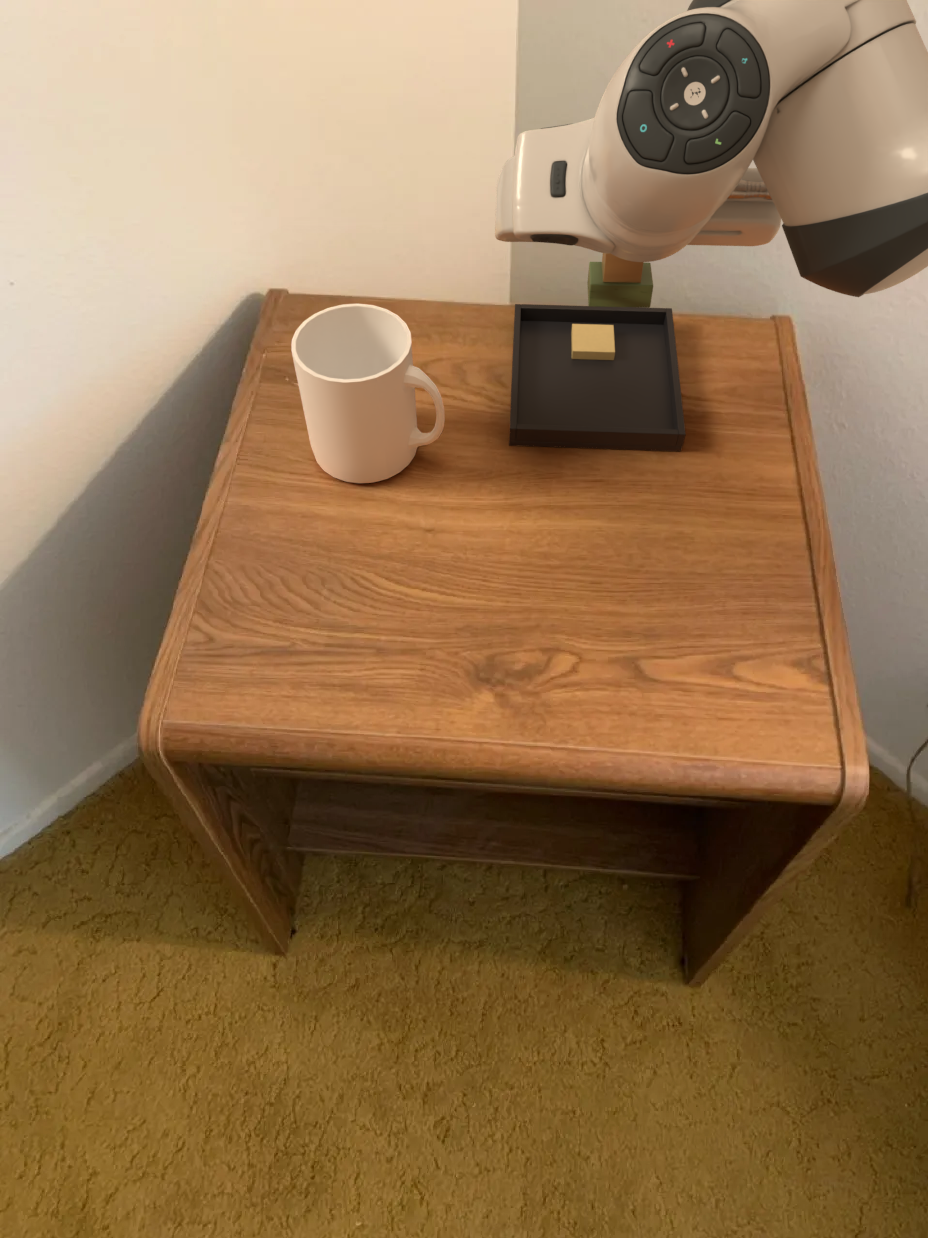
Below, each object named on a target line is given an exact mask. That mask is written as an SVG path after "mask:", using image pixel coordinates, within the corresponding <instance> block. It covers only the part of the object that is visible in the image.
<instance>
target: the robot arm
mask: <svg viewBox="0 0 928 1238" xmlns="http://www.w3.org/2000/svg"><path fill="white" fill-rule="evenodd" d="M916 24H917V20H916V18H915V15H914V14H913V12H912V9H911V7H910V5H909V1H908V0H692V1H691V3H690V4H689V5H688V8H687V9H686V11H683V12H680V13H678V14H676V15H674V16H672V17H670V18H669V19H667V20H666V21H664V22H662V23H661V24H659V25H657V26H656V27H654V28H653V29H652V30H651V31H650V32H649V33H647V34H646V35H645V36H643V38H641V40H640V41H639V42H638V43H637V44H636V45H635V46H634V47H633V48H632V49H631V51H630V52H629V53H628V54H627V55H626V56H625V58H624V59H623V60H622V62H621V64H620V65H619V66H618V67H617V69H616V70H615V72H614V73H613V75H612V76H611V78H610V80H609V82H608V83H607V86H606V87H605V89H604V92H603V94H602V97H600V98H601V99H600V101H599V103H598V106H597V108H596V111H595V114H594V115H595V116H594V117H592V118H589V119H586V120H582V121H578V122H574V123H567V124H566V123H565V124H561V125H555V126H548V127H542V128H535V129H529V130H525V131H522V132H520V133H519V134H518V135H517V137H516V143H515V150H514V155H513V156H511V157H510V158H509V159H507V160H506V161H505V162H504V164H503V166H502V167H501V170H500V172H499V174H498V179H497V182H496V189H495V190H496V191H495V210H494V211H495V213H494V218H495V219H494V237H495V239H496V240H497V241H500V242H505V243H544V244H545V243H546V244H557V245H563V246H565V245H566V246H575V247H581V248H584V249H587V250H591V251H592V252H593V251H594V252H597V253H601V254H603V253H606V254H608V253H611V254H612V255H614V256H616V257H619V258H621V259H624V260H628V261H633V262H644V263H651V262H656V261H661V260H663V259H666V258H669V257H671V256H674V255H675V254H676V253H678V252H680V251H681V250H682V249H684V248H685V247H687V246H711V247H712V246H715V247H716V246H719V247H723V246H724V247H757V246H758V247H759V246H764V245H766V244H769V243H771V242H772V241H773V240H774V238H775V237H776V236H777V234H778V233H779V230H780V228H781V227H782V230H783V232H784V233H783V234H784V235H785V238H786V241H787V243H788V246H789V249H790V251H791V254H792V257H793V260H794V263H795V265H796V268H797V271H798V273H799V276H800V277H801V278H803V279H804V280H806V281H808V282H810V283H813V284H814V285H817V286H819V287H821V288H824V289H826V290H829V291H832V292H835V293H838V294H841V295H845V296H850V297H854V298H860V297H862V296H864V295H870V294H873V293H878V292H882V291H884V290H885V291H886V290H887V289H890V288H893V287H894V286H897V285H899V284H900V283H903V282H905V281H907V280H909V279H910V278H912V277H913V276H915V275H917V274H919V273H921V272H922V271H923V270H925V269H926V268H927V267H928V49H927V47H926V45H925V43H924V40H923V38H922V36H921V34H920V32H919V29H918V27H917V25H916ZM752 162H753V163H754V165H755V167H750V166H751V164H752ZM781 224H782V225H781Z"/></svg>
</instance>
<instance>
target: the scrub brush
mask: <svg viewBox="0 0 928 1238" xmlns="http://www.w3.org/2000/svg"><path fill="white" fill-rule="evenodd" d="M587 273H588V274H587V284H586V285H587V306H593V307H642V308H651V304H652V298H653V292H654V279H653V272H652V263H651V262H633V261H628V260H624V259H621V258H619V257H616V256H614V255H612V254H611V253H608V254H606V253H602V257H601V261H589V262H588V272H587Z"/></svg>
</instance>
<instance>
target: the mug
mask: <svg viewBox="0 0 928 1238" xmlns="http://www.w3.org/2000/svg"><path fill="white" fill-rule="evenodd" d="M290 347H291V348H290V349H291V356H292V360H293V366H294V370H295V375H296V380H297V385H298V391H299V396H300V399H301V405H302V409H303V414H304V415H303V416H304V419H305V420H304V421H305V425H306V429H307V434H308V439H309V444H310V447H311V450H312V454H313V455H314V458H315V460H316V463H317V464H318V466H319V467H320V468H321V470H323V471H324V472H325V473H326V474H328V475H329V476H331V477H333V478H334V479H336V480H337V479H338V480H340V481H344V482H345V483H346V482H347V483H354V484H369V483H371V484H372V483H376V482H380V481H385V480H388V479H390V478H391V477H394V476H396V475H397V474H399V473H401V472H402V471H403V470H405V469H406V468H407V467H408V466H409V465H410V463H411V462H412V461H413V459H414V457H415V456H416V453H417V451H418V447H421V446H428V445H431V444H432V443H434V442H435V441H437V440H439V439H440V437H441V435H442V434H443V431H444V426H445V422H446V418H445V417H446V416H445V415H446V414H445V406H444V401H443V397H442V394H441V392H440V391H439V388H438V386H437V385H436V383H435V382H434V381H433V380H432V378H430V377H429V375H427V374H426V373H425V372H424V371H423V370H422V369H421V368H420V367H417V366H416V365H414V360H413V359H414V358H413V344H412V332H411V330H410V329H409V326H408V324H407V322H406V321H404V320H403V319H402V318H401V317H400V316H399V315H398V314H396V313H394V312H392V311H391V310H389V309H387V308H385V307H380V306H378V305H374V304H367V303H344V304H343V303H342V304H339V305H334V306H331V307H327V308H325V309H322V310H320V311H317V312H315V313H313V314H312V315H310V316H309V317H308V318H306V319H305V320H303V321H302V323H301V324H300V325H299V326H298V327H297V328H296V329H295V332H294V334H293V336H292V338H291V346H290ZM417 388H418V389H423V390H425V392H426V393H428V395H429V396H430V398H431V400H432V401H433V404H434V408H435V413H436V414H435V416H436V418H435V424H434V427H433V428H432V430H431V431H428V432H422V431H421V430H420V429H419V428H418V417H417V399H416V389H417Z"/></svg>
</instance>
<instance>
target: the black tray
mask: <svg viewBox="0 0 928 1238" xmlns="http://www.w3.org/2000/svg"><path fill="white" fill-rule="evenodd" d="M513 320H514V321H513V338H512V339H513V341H512V342H513V343H512V362H511V364H512V365H511V387H510V389H511V390H510V409H509V410H510V411H509V432H508V433H509V435H508V446H511V447H534V448H535V447H538V448H569V449H594V450H595V449H596V450H598V449H599V450H624V451H625V450H627V451H654V452H656V451H657V452H682V450H683V446H684V442H685V438H686V435H687V434H686V425H685V415H684V408H683V397H682V389H681V379H680V369H679V362H678V353H677V351H678V350H677V343H676V341H677V340H676V334H675V324H674V316H673V309H672V307H671V308H670V307H649V308H645V307H593V306H588V305H566V304H565V305H564V304H533V303H532V304H529V303H515V304H514V317H513ZM572 324H597V325H614V340H615V356H614V360H588V359H572V348H571V330H572Z"/></svg>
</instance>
